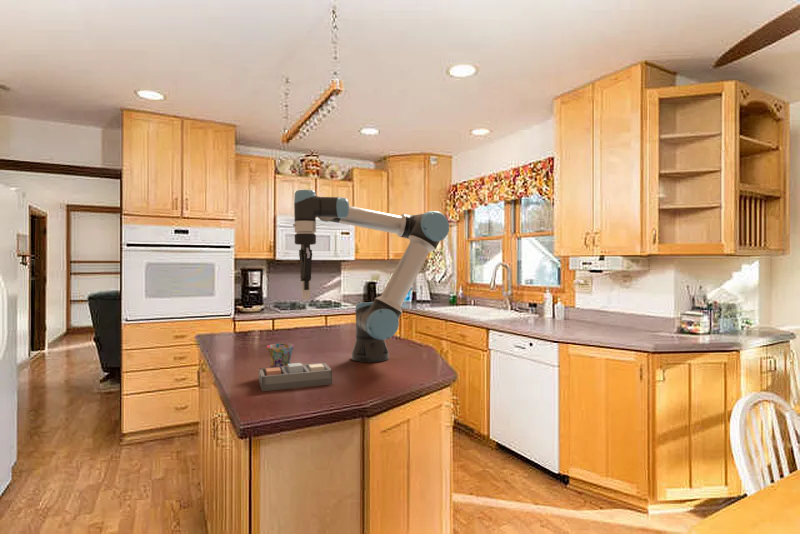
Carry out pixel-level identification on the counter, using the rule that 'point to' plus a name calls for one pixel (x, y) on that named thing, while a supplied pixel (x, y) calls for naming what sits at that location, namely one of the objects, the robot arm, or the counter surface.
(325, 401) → the counter surface
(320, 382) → the grey compartment tray
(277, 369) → the key
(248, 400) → the counter surface
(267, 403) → the counter surface
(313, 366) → the key
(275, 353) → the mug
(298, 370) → the key middle
